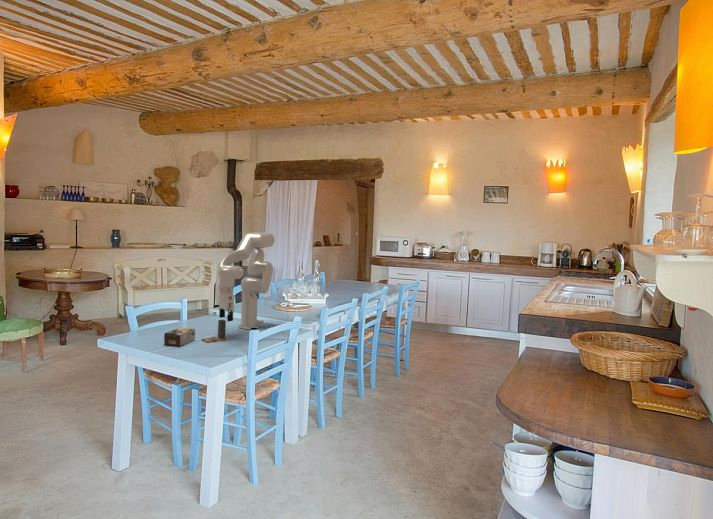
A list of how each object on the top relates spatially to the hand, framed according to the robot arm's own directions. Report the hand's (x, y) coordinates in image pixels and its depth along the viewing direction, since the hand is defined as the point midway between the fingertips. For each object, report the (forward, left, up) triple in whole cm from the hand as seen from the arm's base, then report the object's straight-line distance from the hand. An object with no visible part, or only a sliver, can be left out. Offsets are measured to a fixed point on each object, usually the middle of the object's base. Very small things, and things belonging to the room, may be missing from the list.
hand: (226, 319), depth 282 cm
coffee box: (+20, -6, -7) cm, 22 cm away
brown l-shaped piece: (+8, +4, -11) cm, 14 cm away
